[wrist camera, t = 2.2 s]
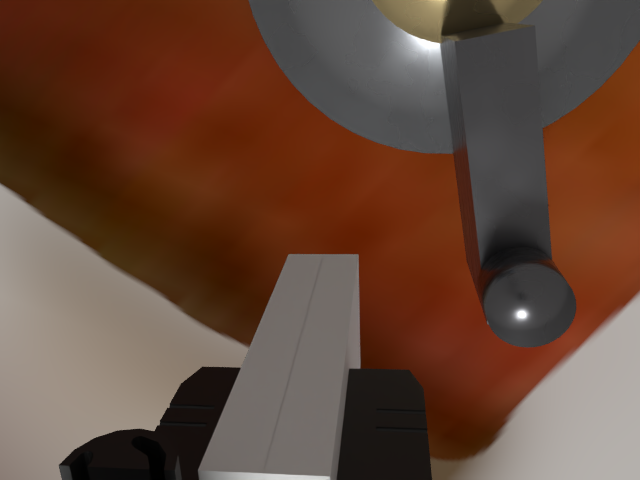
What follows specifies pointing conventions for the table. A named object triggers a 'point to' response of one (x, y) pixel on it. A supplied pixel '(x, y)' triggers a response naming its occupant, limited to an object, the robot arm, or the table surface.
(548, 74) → the post plate
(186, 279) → the table surface
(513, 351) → the table surface
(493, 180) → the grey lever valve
